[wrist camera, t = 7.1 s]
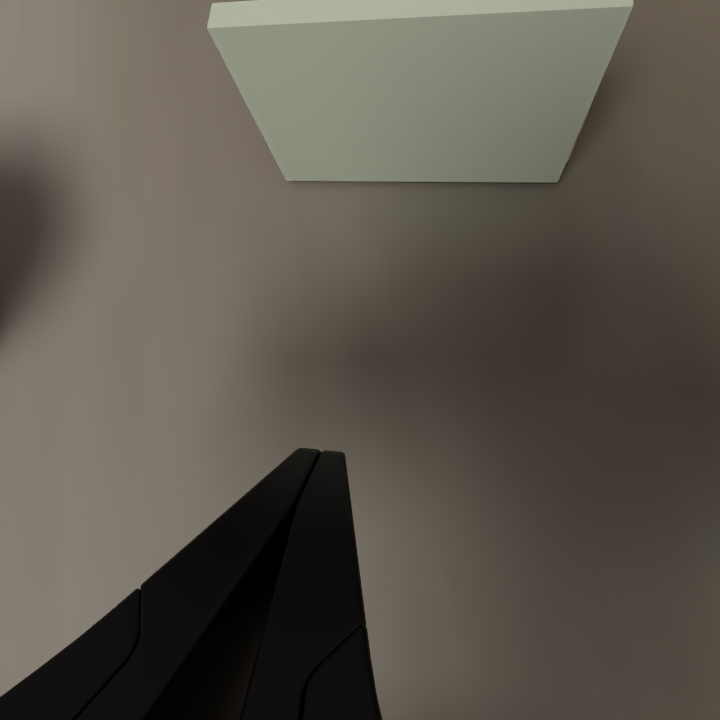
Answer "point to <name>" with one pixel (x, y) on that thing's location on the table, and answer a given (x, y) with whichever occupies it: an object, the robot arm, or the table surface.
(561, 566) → the table surface
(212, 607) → the robot arm
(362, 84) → the drawer
